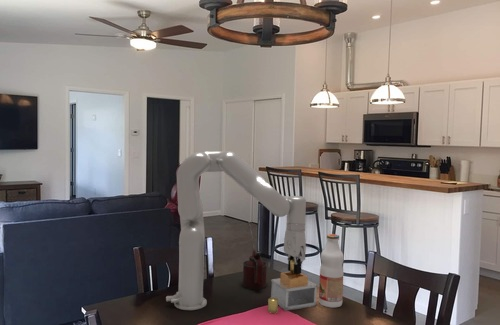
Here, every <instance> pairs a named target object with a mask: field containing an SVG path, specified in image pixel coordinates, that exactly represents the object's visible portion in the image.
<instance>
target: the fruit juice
mask: <svg viewBox="0 0 500 325" xmlns="http://www.w3.org/2000/svg"><path fill="white" fill-rule="evenodd" d="M326 239H327V242H326V245H325V247H324V249H323V250H322V251H321V253H320V260H321V264H320V268H319V281H318V282H319V283H318V284H319V289H318V302H319V304H320V305H321V306H323V307H326V308H332V309H333V308H340V307H341V306H342V305H343V297H344V295H343V294H344V266H343V263H344V260H345V258H344V257H345V256H344V252H342V250H341V248H340V243H339V240H340V235H339V234H336V233H335V234H334V233H328V234H326Z"/></svg>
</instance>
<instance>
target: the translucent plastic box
mask: <svg viewBox="0 0 500 325" xmlns="http://www.w3.org/2000/svg"><path fill="white" fill-rule="evenodd" d="M270 281H271V284H270V286H271V287H270V297H275V298H277V299H278V305H279V306H278V307H279V308H281V309H282V308H283V310H284V312H289V311H293V310H294V311H295V310H299V309H305V308H313V307H316V306H317V292H318V291H317V290H318V289H317V287H318V284H316V283H315V282H313V281H311V280H309V276H307V275H306V274H303V272H301V273H300V274H292V273H290V271H285V272H280V277H279V278H273V279H272V278H271V280H270Z"/></svg>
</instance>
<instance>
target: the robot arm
mask: <svg viewBox="0 0 500 325" xmlns="http://www.w3.org/2000/svg"><path fill="white" fill-rule="evenodd" d="M212 172H215V173H217V172H218V173H220V172H224V173H225V174H226V175H227V176H228V177H229V178H231V179H232V180H233V181H234V182H235V183H236V184H237V185H238V186H240V187H241V189H243V190H244V191H245V192H246V193H247V194H249V195H250V196H251V197H253V198H255V199H256V200H257V201H258V202H259V203H260V204H262V205H263V206H264V207H265V209H267V210H268V211H270V213H271V214H272V215H274V216H276V217H278V218H279V217H280V218H283V217H286V222H285V223H286V226H285V227H286V228H285V231H284V232H285V234H284V238H283V251H284V253H285V254H286V255H287V262H288V263H287V272H290V260H291V259H295V264H294V274H300V273H302V264H303V262H304V261H305V260H306V250H307V249H306V245H307V244H306V241H307V240H306V213H307V212H306V209H307V208H306V207H307V206H306V205H307V202H306V201H307V199H306V198H305V197H304V196H301V195H290V196H288V195H282V194H281V193H280V192H278V190H276V188H274V187H273V186H272V185H271V184H269V182H267V181H266V179H265V178H264V177H263V176H262V175H260V173H259V172H257V171H256V169H254V168H253V167H252V166H251V165H250V164H249V163H247V162H246V161H245V160H244V159H243V158H242V157H240V156H239V155H238V154H237V153H236V152H234V151H232V150H221V151H220V150H219V151H195V152H194V153H192V154H190V155H189V156H187V158H185V159H184V160H183V161H182V162H181V163H180V166H179V167H178V170H177V172H176V188H177V189H176V190H177V191H176V192H177V211H178V215H179V221H180V223H179V224H180V232H179V239H178V250H179V252H178V253H179V254H178V255H179V256H178V257H179V258H178V291H176V293H175V294H174V295H167V296H166V297H165V301H166V302H170V303H172V304H174V305H173V306H174V307H175V308H177V309H179V310H183V311H195V310H201V309H203V308H204V307H206V306H207V302H208V301H207V299H206V298H205V297H204V269H205V268H204V265H205V264H204V262H205V257H204V256H205V240H206V239H205V237H206V236H205V234H206V233H205V221H204V212H203V202H202V200H201V196H200V177H201V175H203V174H204V173H212ZM297 259H298V260H297Z"/></svg>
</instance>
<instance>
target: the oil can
mask: <svg viewBox="0 0 500 325" xmlns="http://www.w3.org/2000/svg"><path fill="white" fill-rule="evenodd" d="M247 225H248V227H249V233H250V242H251V247H252V248H251V249H252V254H251V255H250V256H249V258H248V259H249V260H246V261H245V260H244V261H243V262H242V265H243V268H242V272H243V273H242V287H244V288H246V289H249V290H262V289H264V288H266V287H267V270H268V269H267V267H268V263H267V262H266V261H264V260H262V257H261V251H256V247H255V241H254V235H253V231H252V230H253V229H252V225H251V224H250V223H247Z"/></svg>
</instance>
